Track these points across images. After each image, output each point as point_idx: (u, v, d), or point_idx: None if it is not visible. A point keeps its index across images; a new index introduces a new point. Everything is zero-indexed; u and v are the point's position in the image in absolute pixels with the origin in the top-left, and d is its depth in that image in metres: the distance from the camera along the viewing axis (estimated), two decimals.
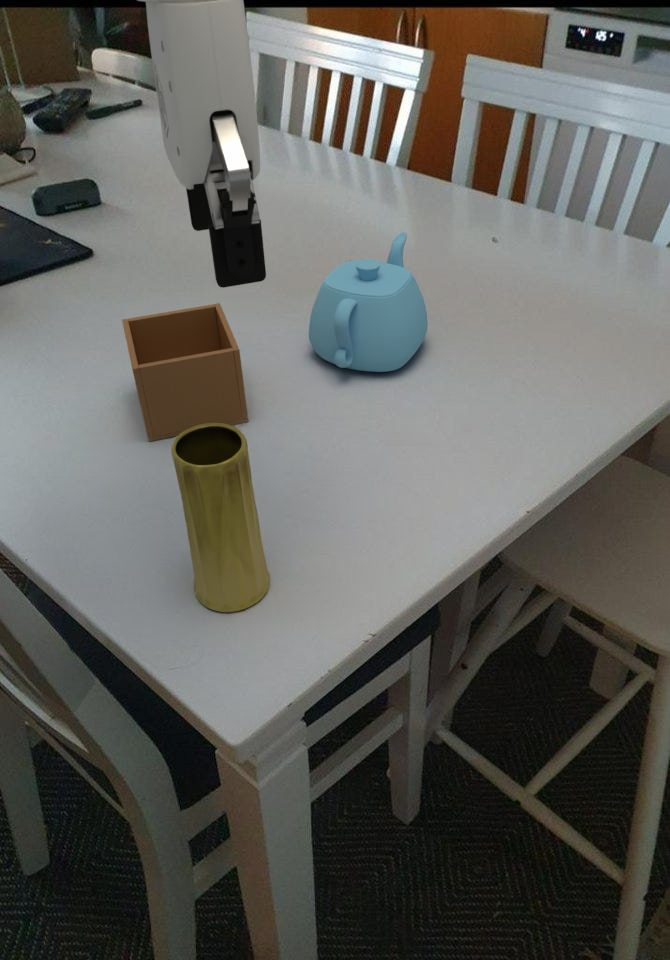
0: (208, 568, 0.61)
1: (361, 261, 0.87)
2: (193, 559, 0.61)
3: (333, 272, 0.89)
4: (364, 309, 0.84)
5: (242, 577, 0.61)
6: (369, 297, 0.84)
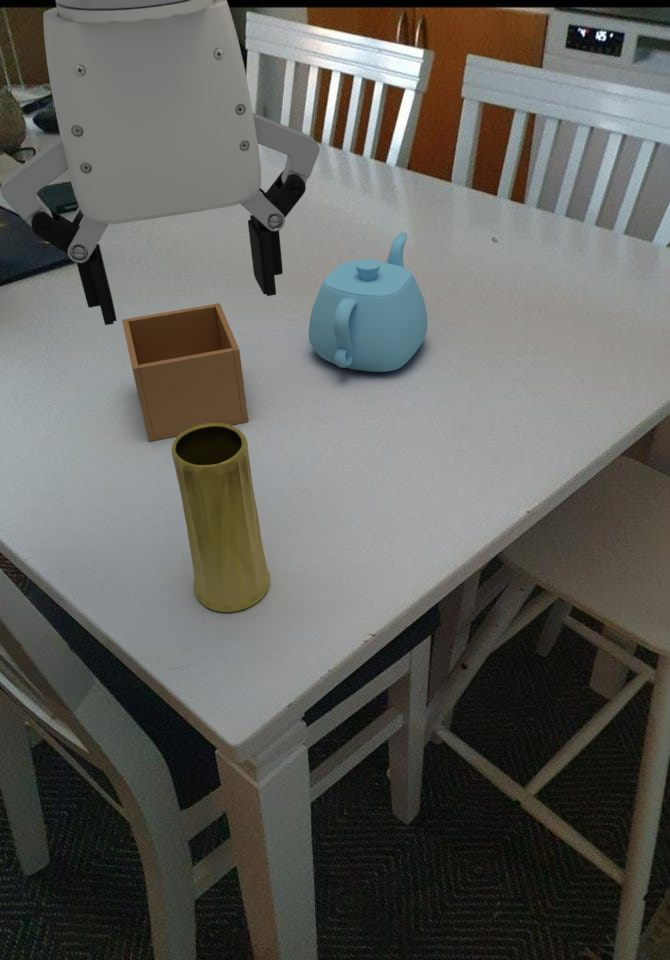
0: (208, 568, 0.61)
1: (361, 261, 0.87)
2: (193, 559, 0.61)
3: (333, 272, 0.89)
4: (364, 309, 0.84)
5: (242, 577, 0.61)
6: (369, 297, 0.84)
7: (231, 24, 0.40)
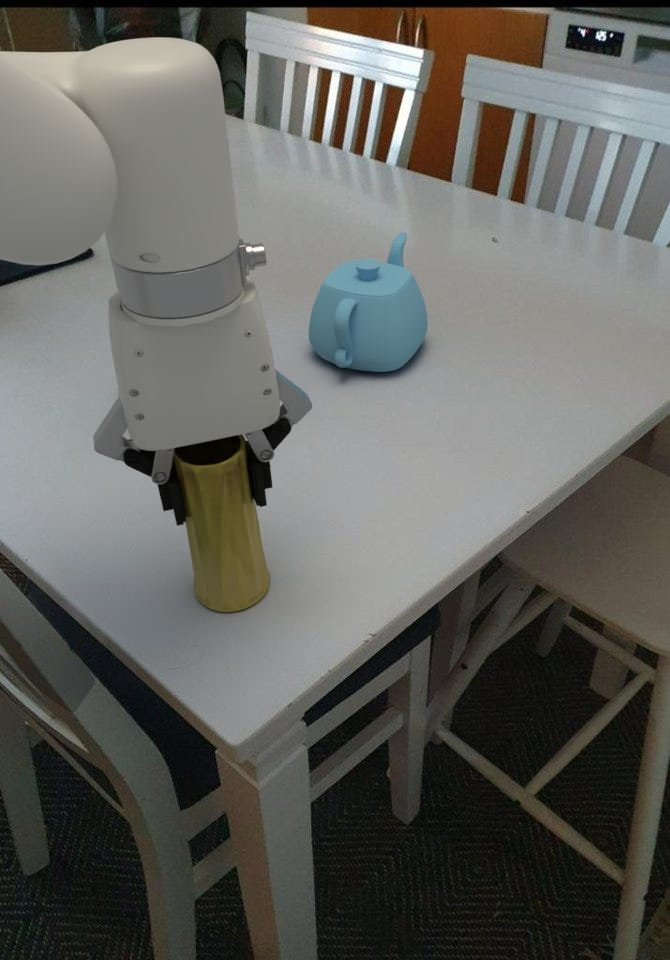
0: (207, 568, 0.61)
1: (361, 261, 0.87)
2: (193, 559, 0.61)
3: (333, 272, 0.89)
4: (364, 309, 0.84)
5: (242, 577, 0.61)
6: (369, 297, 0.84)
7: (259, 309, 0.49)
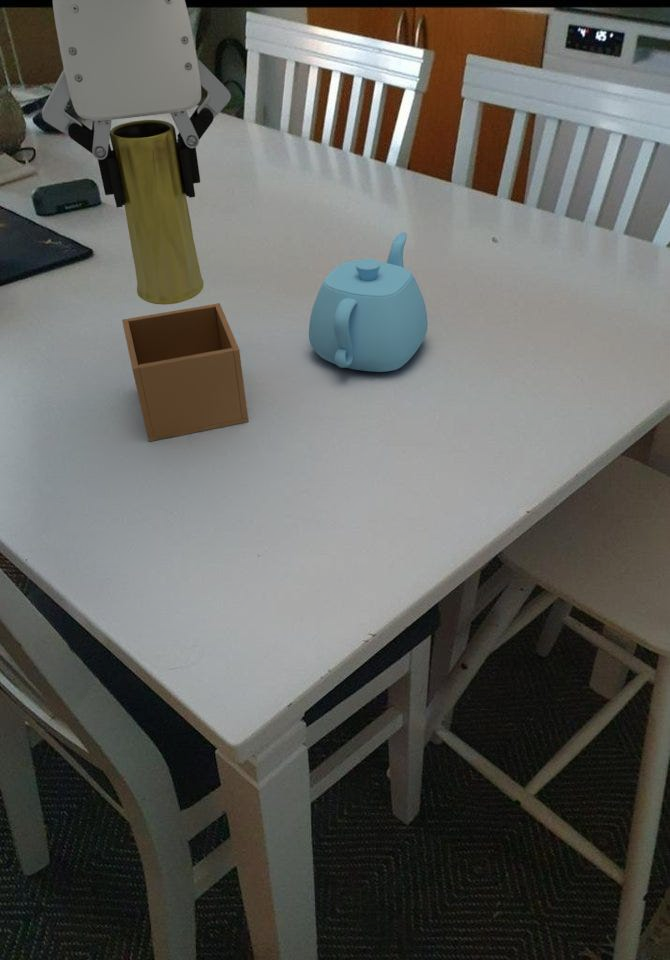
0: (145, 256, 0.70)
1: (361, 261, 0.87)
2: (133, 251, 0.71)
3: (333, 272, 0.89)
4: (364, 309, 0.84)
5: (175, 267, 0.71)
6: (369, 297, 0.84)
7: None
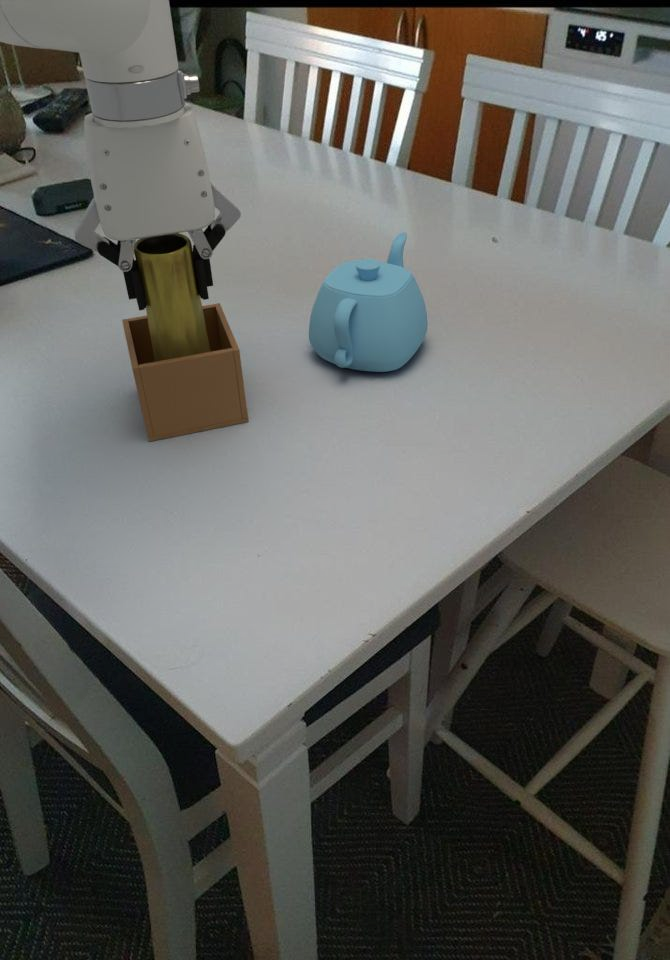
0: (164, 350, 0.79)
1: (361, 261, 0.87)
2: (153, 345, 0.79)
3: (333, 272, 0.89)
4: (364, 309, 0.84)
5: None
6: (369, 297, 0.84)
7: (194, 124, 0.67)
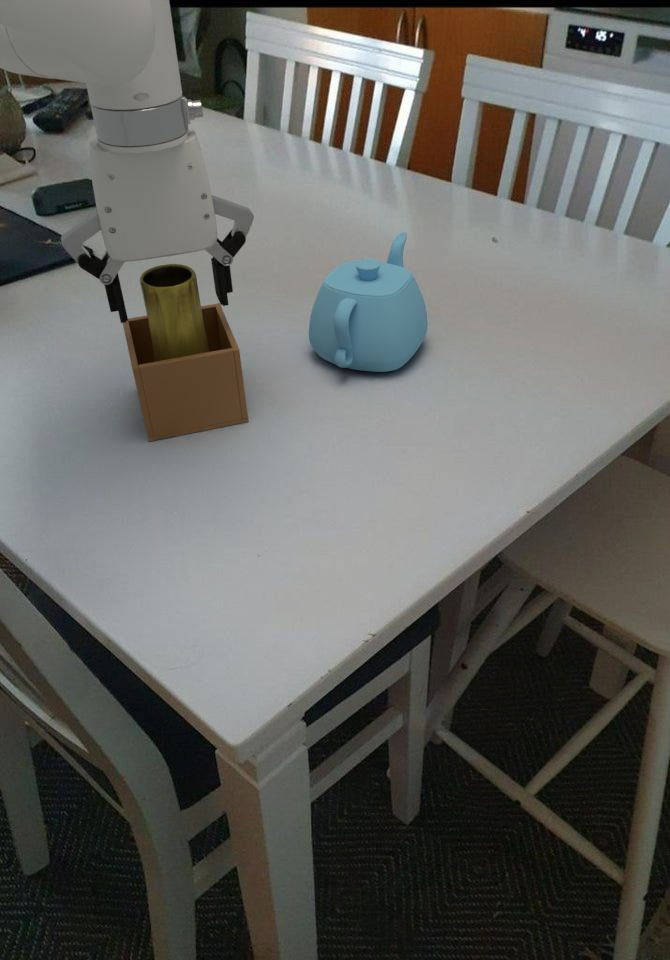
0: None
1: (361, 261, 0.87)
2: None
3: (333, 272, 0.89)
4: (364, 309, 0.84)
5: None
6: (369, 297, 0.84)
7: (198, 149, 0.69)
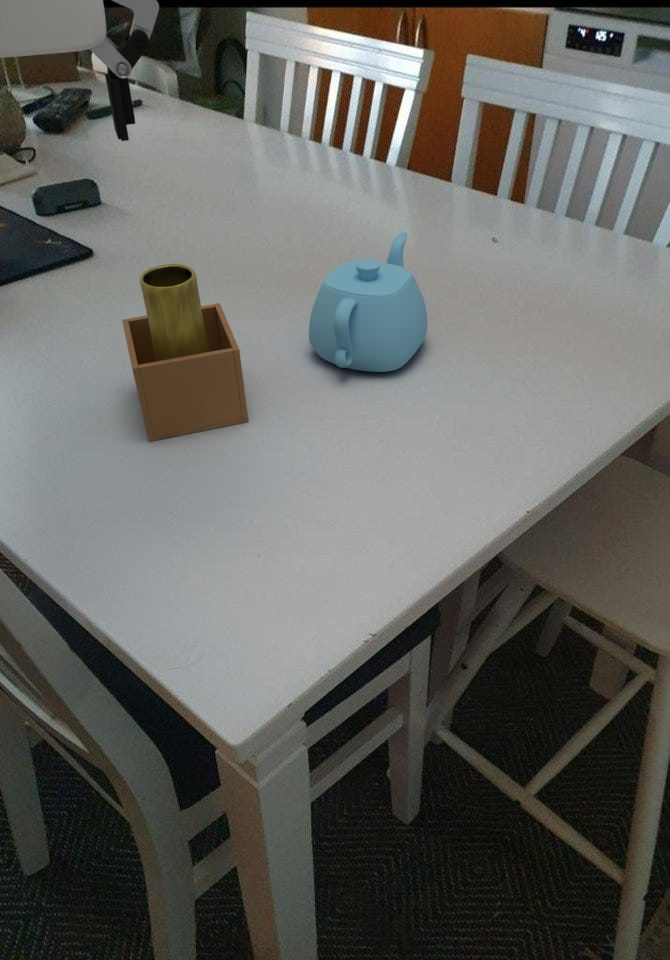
0: None
1: (361, 261, 0.87)
2: None
3: (333, 272, 0.89)
4: (364, 309, 0.84)
5: None
6: (369, 297, 0.84)
7: None
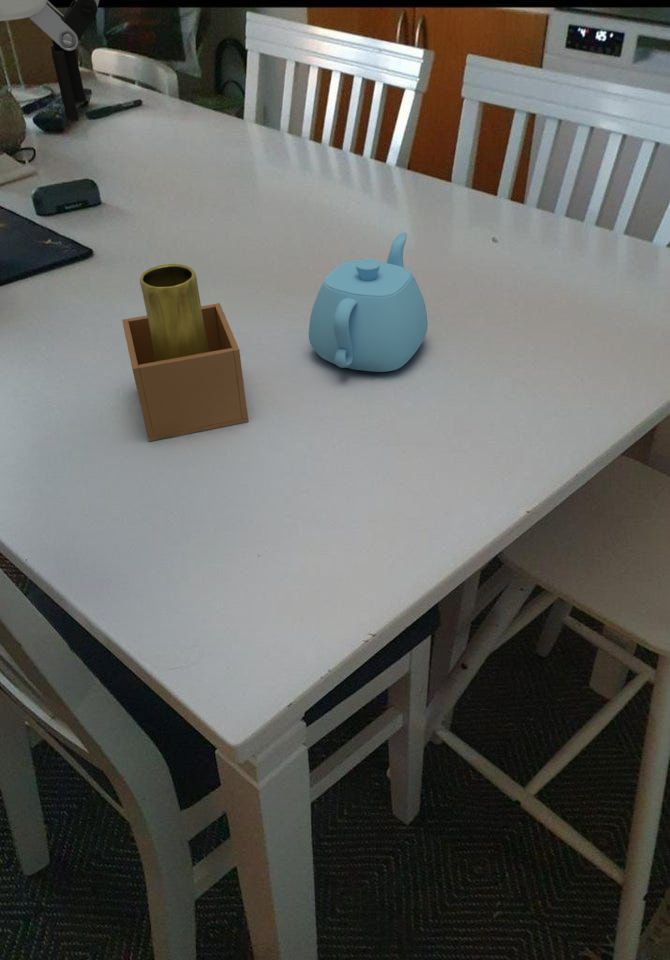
0: None
1: (361, 261, 0.87)
2: None
3: (333, 272, 0.89)
4: (364, 309, 0.84)
5: None
6: (369, 297, 0.84)
7: None
